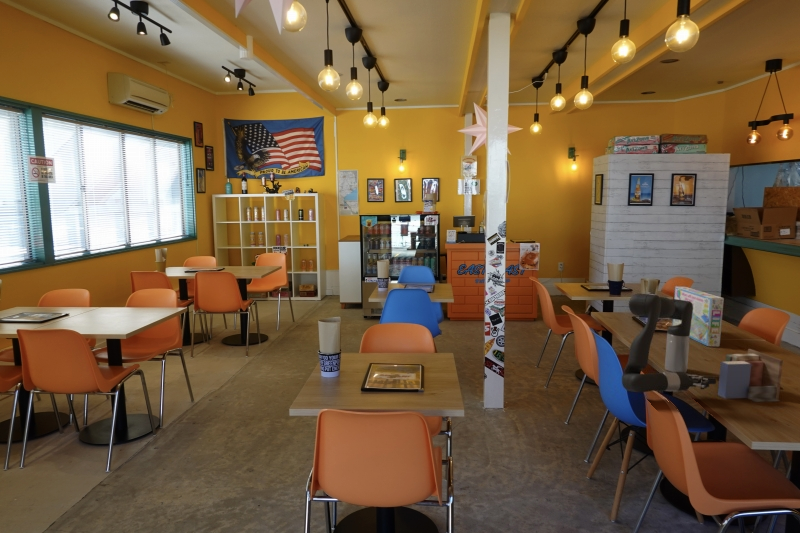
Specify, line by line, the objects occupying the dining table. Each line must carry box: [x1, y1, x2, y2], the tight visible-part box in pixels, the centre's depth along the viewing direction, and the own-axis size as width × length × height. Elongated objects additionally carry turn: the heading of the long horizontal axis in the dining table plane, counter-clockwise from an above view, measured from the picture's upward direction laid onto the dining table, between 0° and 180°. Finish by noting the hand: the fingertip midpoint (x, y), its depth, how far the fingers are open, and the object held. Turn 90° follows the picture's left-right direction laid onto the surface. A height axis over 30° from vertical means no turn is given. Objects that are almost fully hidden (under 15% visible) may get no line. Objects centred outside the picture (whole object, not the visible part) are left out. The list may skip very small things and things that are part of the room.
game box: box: [671, 286, 725, 347], centre depth 306 cm, size 40×7×27 cm, turn 178°
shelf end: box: [725, 348, 784, 403], centre depth 217 cm, size 12×18×16 cm, turn 6°
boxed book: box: [717, 360, 751, 400], centre depth 213 cm, size 10×4×14 cm, turn 96°
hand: (713, 380), depth 212 cm, fingers closed
